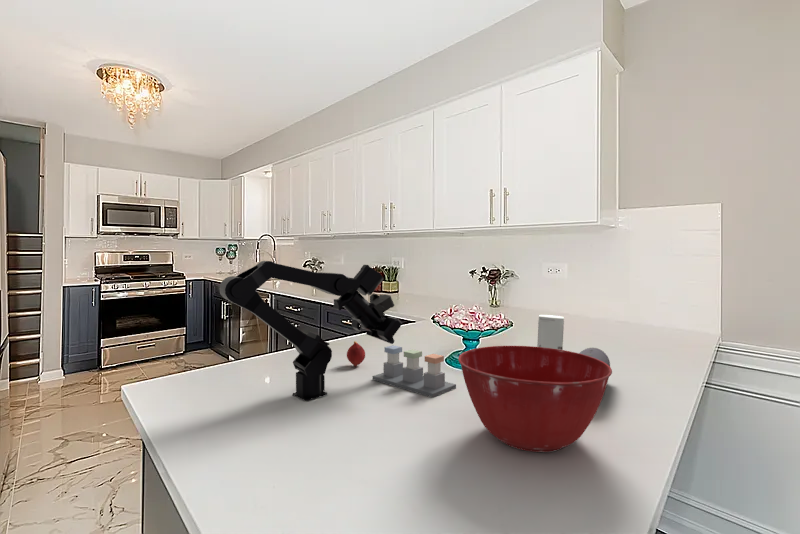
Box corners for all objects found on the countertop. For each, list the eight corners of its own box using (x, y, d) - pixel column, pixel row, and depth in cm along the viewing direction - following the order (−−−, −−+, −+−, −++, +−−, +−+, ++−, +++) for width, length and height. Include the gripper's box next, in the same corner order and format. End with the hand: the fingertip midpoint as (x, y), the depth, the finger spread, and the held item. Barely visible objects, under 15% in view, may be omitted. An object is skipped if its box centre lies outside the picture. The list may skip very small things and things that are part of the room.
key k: (435, 376, 109) (435, 358, 109) (424, 374, 112) (424, 356, 111) (443, 373, 112) (443, 355, 112) (433, 371, 114) (433, 353, 114)
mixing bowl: (497, 400, 104) (497, 338, 103) (626, 432, 86) (627, 357, 85) (430, 440, 82) (430, 362, 81) (585, 494, 64) (586, 394, 63)
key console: (432, 397, 106) (432, 379, 106) (372, 379, 121) (372, 363, 121) (456, 388, 113) (456, 371, 113) (396, 372, 128) (396, 357, 128)
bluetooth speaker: (575, 377, 122) (576, 343, 122) (611, 383, 118) (612, 347, 117) (561, 402, 103) (561, 361, 102) (603, 409, 98) (604, 367, 98)
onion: (366, 363, 137) (366, 339, 137) (363, 368, 132) (363, 343, 131) (349, 363, 138) (348, 339, 138) (345, 368, 132) (344, 343, 132)
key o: (393, 366, 119) (393, 349, 119) (384, 363, 122) (384, 347, 122) (402, 363, 122) (402, 347, 122) (393, 361, 124) (393, 345, 124)
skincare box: (536, 360, 141) (537, 316, 141) (537, 356, 147) (537, 313, 146) (563, 362, 138) (564, 317, 138) (563, 358, 144) (563, 315, 144)
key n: (413, 371, 114) (413, 353, 114) (403, 368, 117) (403, 351, 117) (422, 368, 117) (422, 351, 117) (412, 366, 119) (412, 349, 119)
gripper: (395, 288, 110) (428, 325, 117) (360, 283, 125) (391, 316, 132) (370, 321, 106) (405, 358, 113) (336, 312, 121) (369, 345, 128)
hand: (393, 342), depth 122 cm, fingers closed
